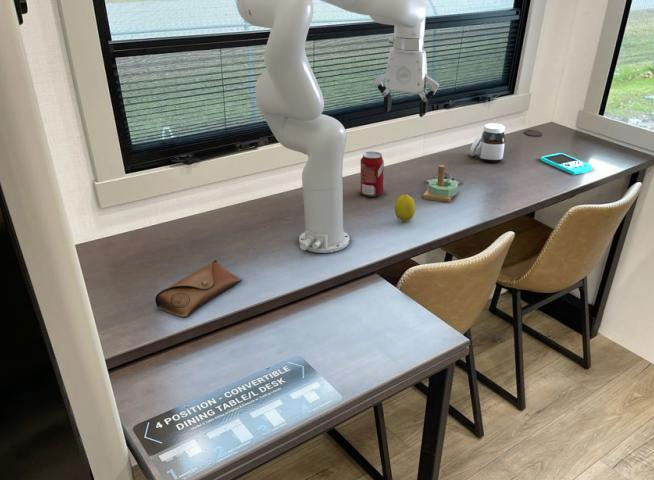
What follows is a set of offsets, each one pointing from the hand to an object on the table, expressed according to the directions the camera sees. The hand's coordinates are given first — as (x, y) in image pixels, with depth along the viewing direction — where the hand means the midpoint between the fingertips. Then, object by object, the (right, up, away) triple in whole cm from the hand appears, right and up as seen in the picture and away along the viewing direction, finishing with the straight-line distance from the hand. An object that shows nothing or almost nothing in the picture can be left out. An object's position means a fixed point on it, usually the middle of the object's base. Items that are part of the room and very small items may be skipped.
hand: (404, 113), depth 160 cm
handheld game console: (+56, -4, +44) cm, 71 cm away
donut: (+13, -12, +27) cm, 32 cm away
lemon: (0, -29, +3) cm, 29 cm away
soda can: (-9, -18, +19) cm, 28 cm away
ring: (+12, -18, +18) cm, 28 cm away
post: (+11, -19, +19) cm, 29 cm away
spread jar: (+29, -1, +47) cm, 55 cm away
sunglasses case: (-45, -49, -30) cm, 73 cm away
